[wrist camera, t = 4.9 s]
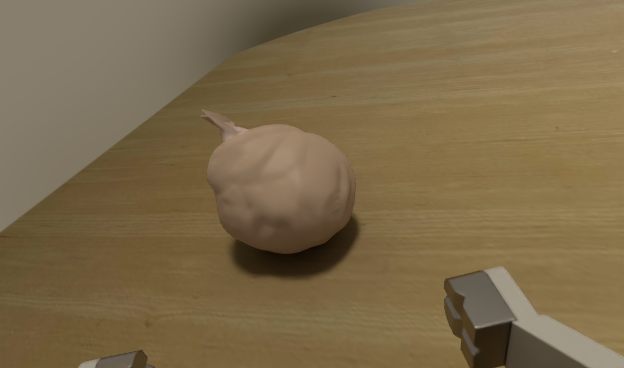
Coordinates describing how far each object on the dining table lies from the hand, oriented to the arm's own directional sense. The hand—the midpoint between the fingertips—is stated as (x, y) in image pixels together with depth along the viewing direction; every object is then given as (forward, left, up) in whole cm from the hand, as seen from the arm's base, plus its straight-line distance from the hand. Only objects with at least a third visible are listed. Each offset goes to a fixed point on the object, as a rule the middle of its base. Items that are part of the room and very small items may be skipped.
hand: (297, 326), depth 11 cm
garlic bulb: (+2, +10, -6) cm, 12 cm away
